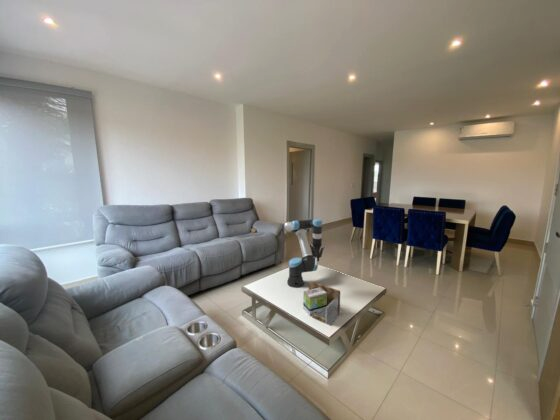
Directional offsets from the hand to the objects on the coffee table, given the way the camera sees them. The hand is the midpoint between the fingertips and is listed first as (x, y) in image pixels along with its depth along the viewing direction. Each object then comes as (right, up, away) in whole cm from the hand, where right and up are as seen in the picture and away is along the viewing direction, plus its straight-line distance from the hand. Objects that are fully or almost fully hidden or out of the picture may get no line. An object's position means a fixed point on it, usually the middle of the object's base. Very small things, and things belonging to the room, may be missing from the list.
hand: (316, 264), depth 195 cm
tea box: (-5, -29, -22) cm, 37 cm away
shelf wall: (-3, -29, -23) cm, 37 cm away
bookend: (+7, -30, -32) cm, 45 cm away
